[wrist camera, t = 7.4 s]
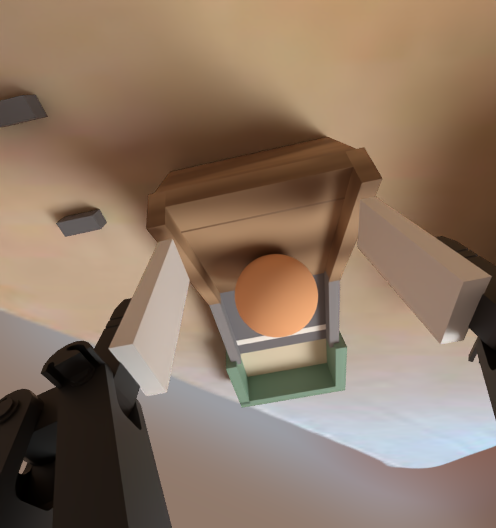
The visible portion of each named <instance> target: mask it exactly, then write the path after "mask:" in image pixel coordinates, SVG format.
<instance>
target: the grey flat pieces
mask: <svg viewBox="0 0 496 528" xmlns="http://www.w3.org/2000/svg"><path fill="white" fill-rule="evenodd" d="M44 117H48V116H47V115H46V113H45V111H44V109H43V107H42V106H41V104H40V102H39V100H38V98H37V97H36V95H22V96H18V97H13V98H9V99H5V100H1V101H0V127H6V126H10V125H15V124H19V123H23V122H27V121H31V120H35V119H39V118H44ZM106 223H107V222H106V220H105V218H104V217H103V215H102V213H101V211H100V209H99V210H94V211H90V212H85V213H80V214H76V215H71V216H67V217H64V218H62V219H61V220H60V221H58V222H57V223H56V224H57V225H58V227H59V228H60V230H61V231H62V233H63V234H64V236H65V237H66V236H71V235H76V234H80V233H85V232H90V231H94V230H99V229H101V228H102V227H103V226H104V225H105V224H106Z"/></svg>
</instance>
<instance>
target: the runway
mask: <svg viewBox="0 0 496 528" xmlns="http://www.w3.org/2000/svg"><path fill="white" fill-rule="evenodd" d="M312 276H313V277H314V279H315V282H316V285H317V290H318V303H317V308H316V310H315V313H314V315H313V317H312V319H311V320H310V321H309V323H308V324H307V325H306V326H305V327H304V328H303V329H301V330H300V331H298V332H296V333H295V334H292V335H290V336H286V337H268V336H264V335H261V334H259V333H257V332H255V331H254V330H252V329H251V328H250V327H249V326H248V325H247V324H246V323H245V322H244V321H243V320H242V318H241V317H240V315H239V313H238V310H237V307H236V303H235V290H234V291H229V292H224V293H220V298H221V304H220V303H219V304H213V305H209V306H210V309H211V311H212V314H213V316H214V319H215V321H216V324H217V327H218V329H219V332H220V334H221V337H222V340H223V342H224V345H225V347H226V350H227V353H228V355H229V358H230V360H231V362H235V361H237V364H241V354H243V353H249V352H254V351H260V350H265V349H271V348H276V347H282V346H287V345H293V344H298V343H304V342H309V341H315V340H320V339H327V342H328V344H329V347H330V348H332V347H334V345H333V344H335V343H339V310H340V280H338V281H333V282H329V277H328V275H327V273H326V271H325V272H324V273H321V274H316V275H312Z"/></svg>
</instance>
